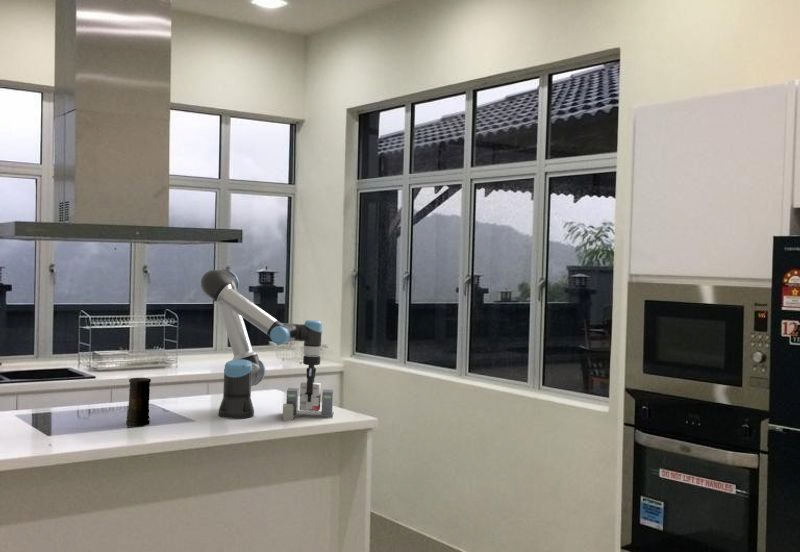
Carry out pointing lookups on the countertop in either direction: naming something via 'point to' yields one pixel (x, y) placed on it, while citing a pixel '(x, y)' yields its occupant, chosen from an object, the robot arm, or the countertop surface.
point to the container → (139, 402)
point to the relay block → (288, 411)
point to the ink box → (315, 396)
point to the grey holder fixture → (326, 411)
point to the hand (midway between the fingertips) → (309, 407)
